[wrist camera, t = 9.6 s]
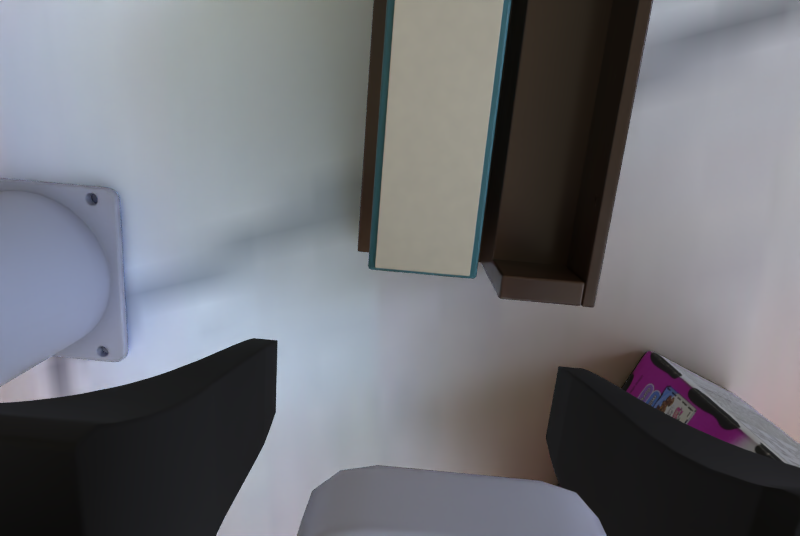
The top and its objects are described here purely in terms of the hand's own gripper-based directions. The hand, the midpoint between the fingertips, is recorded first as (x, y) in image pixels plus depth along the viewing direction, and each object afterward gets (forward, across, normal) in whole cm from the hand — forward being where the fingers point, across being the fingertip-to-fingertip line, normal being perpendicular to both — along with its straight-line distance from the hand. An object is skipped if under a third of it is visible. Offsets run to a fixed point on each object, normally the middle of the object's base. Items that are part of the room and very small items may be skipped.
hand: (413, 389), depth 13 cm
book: (+8, 0, -8) cm, 12 cm away
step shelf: (+10, -2, -8) cm, 13 cm away
